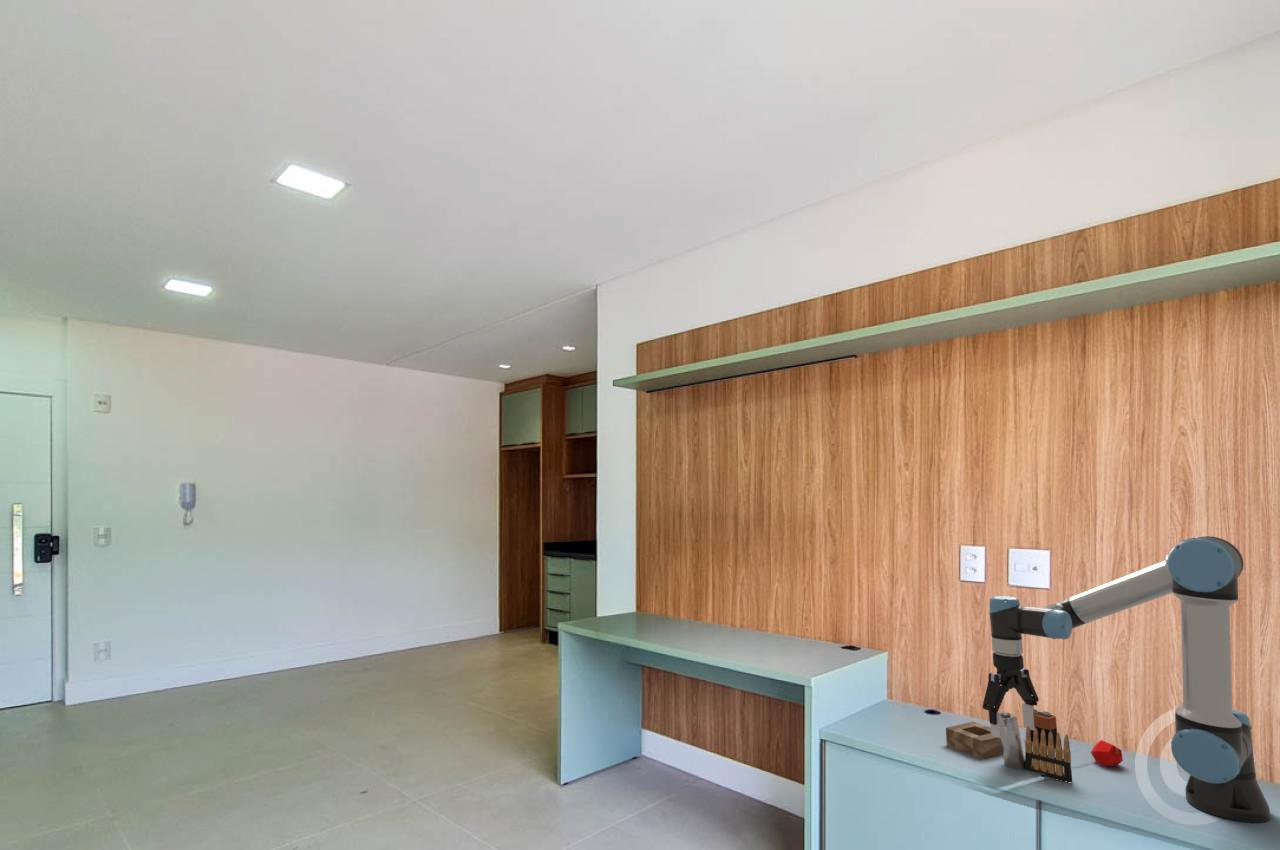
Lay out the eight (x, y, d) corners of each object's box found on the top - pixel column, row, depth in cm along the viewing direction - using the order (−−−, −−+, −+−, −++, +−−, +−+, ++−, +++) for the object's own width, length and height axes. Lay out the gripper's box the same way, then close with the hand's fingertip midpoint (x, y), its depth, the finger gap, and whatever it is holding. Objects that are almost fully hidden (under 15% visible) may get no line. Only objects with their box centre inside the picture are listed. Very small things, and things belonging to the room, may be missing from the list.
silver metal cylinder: (1030, 766, 179) (1019, 713, 181) (1018, 771, 177) (1007, 717, 179) (1013, 762, 183) (1002, 710, 186) (1000, 766, 181) (990, 714, 184)
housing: (1011, 755, 190) (1009, 734, 190) (983, 763, 185) (981, 740, 185) (974, 742, 200) (973, 721, 201) (946, 748, 195) (945, 727, 196)
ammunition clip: (1024, 771, 177) (1023, 726, 178) (1025, 769, 179) (1024, 724, 180) (1071, 783, 171) (1070, 736, 172) (1072, 780, 172) (1071, 734, 173)
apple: (1081, 739, 188) (1104, 737, 181) (1102, 742, 189) (1126, 741, 182) (1087, 766, 184) (1110, 765, 177) (1108, 769, 185) (1132, 768, 178)
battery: (1051, 750, 193) (1048, 715, 194) (1027, 743, 199) (1025, 709, 200) (1059, 747, 196) (1056, 712, 197) (1035, 740, 201) (1032, 706, 202)
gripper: (1023, 646, 192) (1029, 721, 190) (965, 655, 182) (970, 735, 179) (1049, 651, 185) (1055, 729, 183) (989, 661, 175) (995, 744, 172)
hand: (1013, 732), depth 181 cm, fingers open, 13 cm apart
